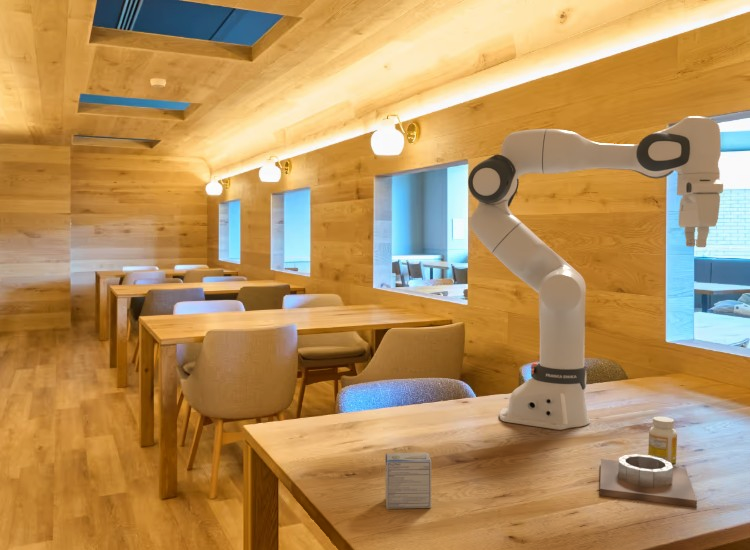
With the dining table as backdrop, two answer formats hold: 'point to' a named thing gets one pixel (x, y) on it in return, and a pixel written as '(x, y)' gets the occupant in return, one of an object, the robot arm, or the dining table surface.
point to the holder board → (646, 480)
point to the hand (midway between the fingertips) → (695, 246)
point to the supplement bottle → (663, 439)
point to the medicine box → (408, 480)
